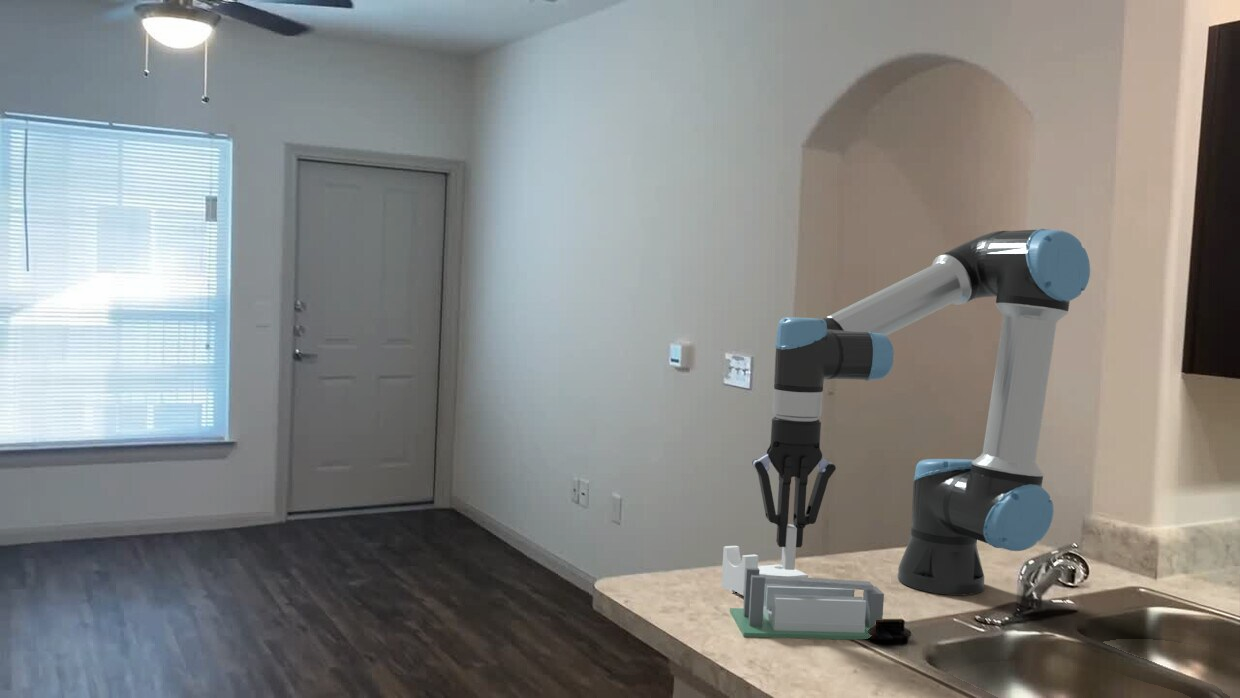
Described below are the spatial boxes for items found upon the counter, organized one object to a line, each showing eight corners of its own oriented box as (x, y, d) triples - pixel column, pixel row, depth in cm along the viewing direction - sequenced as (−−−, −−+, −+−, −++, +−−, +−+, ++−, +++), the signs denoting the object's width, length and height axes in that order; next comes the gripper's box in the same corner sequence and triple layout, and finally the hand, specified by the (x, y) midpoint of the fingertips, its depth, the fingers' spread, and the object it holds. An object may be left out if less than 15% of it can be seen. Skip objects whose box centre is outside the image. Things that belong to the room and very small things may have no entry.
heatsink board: (869, 615, 175) (872, 566, 174) (893, 640, 163) (896, 587, 162) (729, 611, 173) (732, 561, 172) (743, 636, 161) (746, 583, 161)
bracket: (742, 601, 180) (745, 556, 180) (721, 589, 187) (723, 546, 186) (806, 594, 186) (809, 551, 185) (783, 583, 192) (785, 541, 192)
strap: (868, 586, 169) (869, 581, 169) (872, 590, 167) (873, 585, 167) (750, 578, 168) (750, 573, 168) (753, 582, 166) (753, 577, 166)
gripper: (831, 415, 170) (822, 561, 171) (750, 412, 169) (742, 559, 170) (844, 422, 162) (835, 575, 164) (759, 419, 161) (751, 572, 163)
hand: (787, 567), depth 167 cm, fingers closed
